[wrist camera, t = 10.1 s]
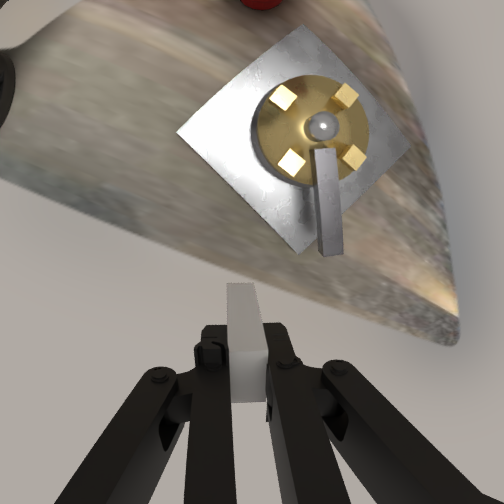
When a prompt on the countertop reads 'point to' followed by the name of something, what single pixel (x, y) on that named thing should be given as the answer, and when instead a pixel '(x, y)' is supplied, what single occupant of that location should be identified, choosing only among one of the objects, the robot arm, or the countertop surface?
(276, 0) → the plastic cup
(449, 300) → the countertop surface
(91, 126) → the countertop surface
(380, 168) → the flange plate
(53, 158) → the countertop surface
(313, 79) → the brass dial with lever
